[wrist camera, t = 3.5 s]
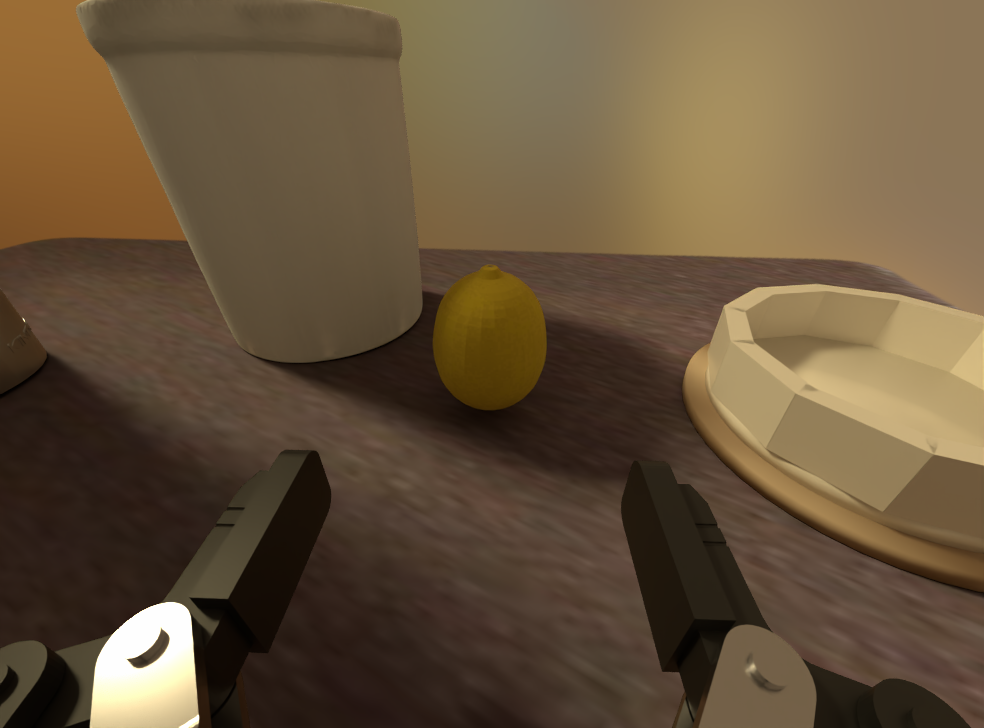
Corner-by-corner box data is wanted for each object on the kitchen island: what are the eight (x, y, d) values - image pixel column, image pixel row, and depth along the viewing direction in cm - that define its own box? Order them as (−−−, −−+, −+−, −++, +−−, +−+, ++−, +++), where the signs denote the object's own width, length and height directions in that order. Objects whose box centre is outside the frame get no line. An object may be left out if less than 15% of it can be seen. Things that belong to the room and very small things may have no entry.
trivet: (1142, 733, 11) (1170, 724, 10) (620, 408, 22) (622, 396, 21) (1125, 447, 19) (1140, 435, 19) (758, 318, 31) (762, 309, 30)
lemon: (560, 422, 21) (580, 276, 16) (463, 457, 19) (455, 303, 14) (509, 368, 25) (514, 239, 21) (424, 392, 23) (409, 256, 18)
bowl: (1107, 660, 11) (1247, 592, 9) (650, 399, 21) (668, 336, 19) (1107, 433, 19) (1183, 368, 17) (771, 318, 29) (793, 267, 27)
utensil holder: (227, 400, 22) (21, -35, 13) (216, 302, 33) (99, 22, 23) (461, 332, 29) (446, 9, 19) (390, 268, 39) (356, 38, 29)
